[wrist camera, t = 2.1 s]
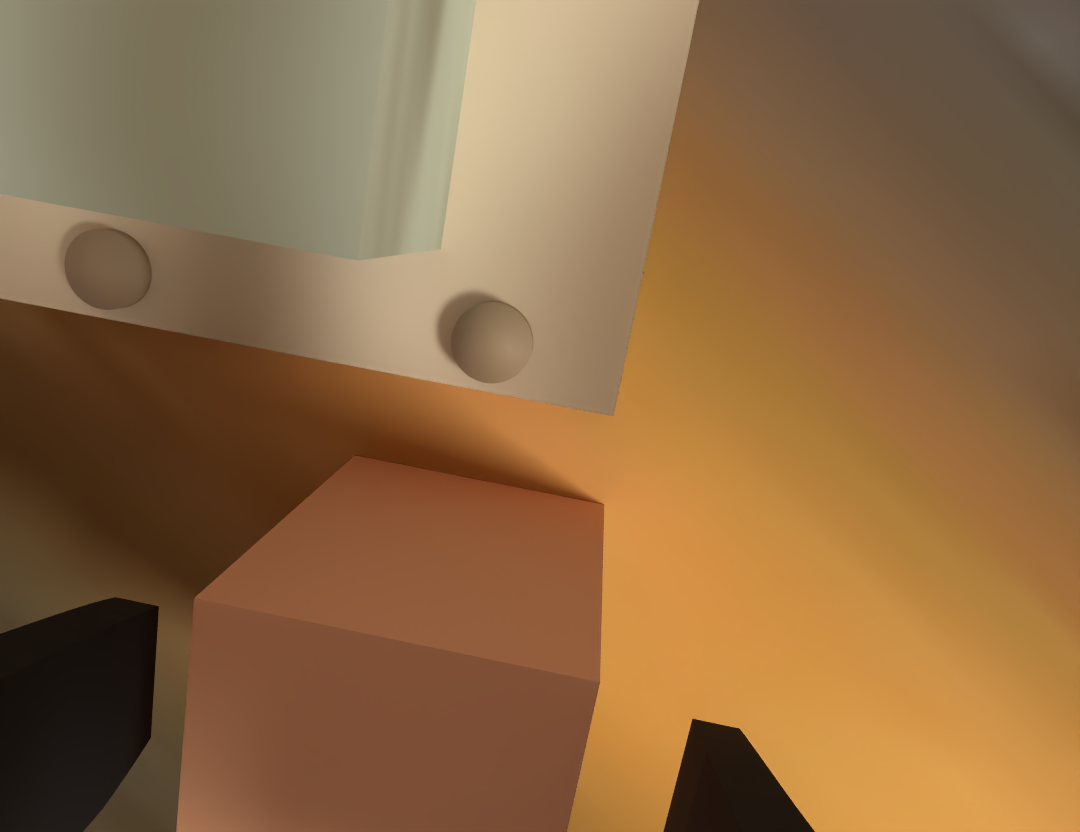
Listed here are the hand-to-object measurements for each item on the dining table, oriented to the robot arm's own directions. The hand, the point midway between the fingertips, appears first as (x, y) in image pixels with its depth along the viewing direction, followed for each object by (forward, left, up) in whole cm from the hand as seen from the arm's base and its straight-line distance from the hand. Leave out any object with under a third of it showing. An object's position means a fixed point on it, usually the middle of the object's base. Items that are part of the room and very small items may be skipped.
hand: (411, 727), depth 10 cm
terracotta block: (0, 0, -4) cm, 4 cm away
